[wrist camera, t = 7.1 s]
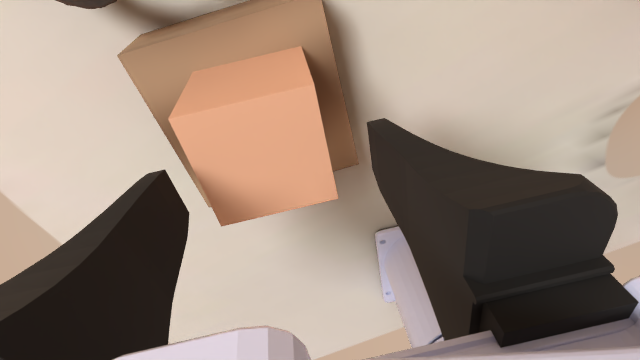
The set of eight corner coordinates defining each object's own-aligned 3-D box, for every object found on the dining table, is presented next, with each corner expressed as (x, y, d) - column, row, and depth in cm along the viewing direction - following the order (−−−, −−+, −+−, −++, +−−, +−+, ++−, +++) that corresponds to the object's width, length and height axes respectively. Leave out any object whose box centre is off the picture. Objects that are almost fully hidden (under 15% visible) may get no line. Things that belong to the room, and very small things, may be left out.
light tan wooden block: (345, 131, 23) (358, 163, 20) (216, 168, 23) (209, 207, 20) (309, -20, 18) (319, -8, 15) (142, 32, 18) (117, 55, 15)
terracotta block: (322, 141, 19) (338, 198, 15) (230, 163, 19) (221, 226, 15) (301, 46, 16) (313, 84, 12) (192, 71, 16) (168, 119, 12)
